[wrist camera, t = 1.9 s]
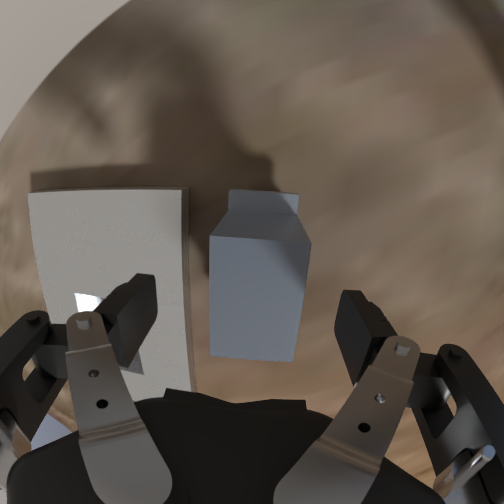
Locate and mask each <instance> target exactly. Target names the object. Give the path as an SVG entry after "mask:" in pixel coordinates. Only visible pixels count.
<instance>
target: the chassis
mask: <svg viewBox="0 0 504 504" xmlns="http://www.w3.org/2000/svg"><path fill="white" fill-rule="evenodd" d="M28 203H29V215H30V224H31V232H32V239H33V246H34V252H35V258H36V263H37V269H38V273H39V278H40V283H41V287H42V291H43V295H44V299H45V303H46V307H47V310H48V314H49V317H50V321H51V324H66V322H67V320H68V318H69V317H70V316H72V315H73V314H75V313H78V312H82V311H93V310H94V309H95V308H96V307H97V306H98V305H99V304H100V303H101V302H102V301H103V300H104V299H106V297H107V296H108V295H109V294H111V292H112V291H113V290H114V289H115V288H116V287H117V286H119V285H121V284H123V283H125V282H126V283H128V282H129V281H130V279H131V278H132V277H133V276H134V275H135V274H136V273H143V274H152V275H154V276H155V280H156V292H157V303H158V314H157V318H156V321H155V323H154V324H153V326H152V328H151V329H150V331H149V333H148V334H147V336H146V338H145V340H144V341H143V343H142V345H141V346H140V348H139V350H138V352H137V353H136V355H135V357H134V359H133V360H132V362H131V364H130V366H129V367H128V368H126V367H121V366H119V368H120V370H121V373H122V376H123V378H124V381H125V383H126V386H127V388H128V391H129V393H130V395H131V398H132V400H134V401H140V400H143V399H148V398H155V397H163V396H164V393H165V390H166V388H171V389H177V390H183V391H190V392H196V381H195V370H194V358H193V344H192V328H191V309H190V284H189V187H159V186H127V187H85V188H63V189H47V190H39V191H35V192H31V193H28Z"/></svg>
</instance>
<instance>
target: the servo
mask: <svg viewBox="0 0 504 504" xmlns="http://www.w3.org/2000/svg"><path fill="white" fill-rule="evenodd" d="M298 200H299V194H297V193H285V192H273V191H259V190H243V189H229V196H228V211H227V212H226V214H225V215H224V216H223V218H222V219H221V221H220V222H219V223H218V225H217V226H216V227H215V229H214V230H213V232H212V233H211V234H210V243H209V318H210V356H218V357H227V358H238V359H250V360H265V361H284V362H293V357H294V352H295V347H296V341H297V336H298V330H299V324H300V318H301V312H302V306H303V299H304V293H305V286H306V279H307V272H308V265H309V258H310V250H311V241H310V239H309V237H308V235H307V233H306V232H305V230H304V228H303V226H302V224H301V222H300V220H299V218H298V216H297V210H298Z"/></svg>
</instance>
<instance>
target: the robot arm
mask: <svg viewBox="0 0 504 504" xmlns="http://www.w3.org/2000/svg"><path fill="white" fill-rule="evenodd" d="M157 314H158V303H157V292H156V280H155V276H154V275H152V274H143V273H136V274H135V275H134V276H133V277H132V278H131V279H130V281H129V282H128V283H126V282H125V283H123V284H121V285H119V286H117V287H116V288H115V289H114V290H113V291H112V292H111V294H109V295H108V296H107V297H106V299H104V300H103V301H102V302H101V303H100V304H99V305H98V306H97V307H96V308H95V309H94V310H93V311H82V312H78V313H75V314H73V315H72V316H70V317H69V318H68V320H67V322H66V324H51V321H50V318H49V315H48V313H46V312H45V311H32V312H29V313H26V314H25V315H23V316H22V317H21V318H20V319H19V320H18V321H17V322H15V323H14V324H13V325H12V326H11V327H10V328H9V329H8V330H7V331H6V332H5V333H4V334H3V335H2V336H1V337H0V489H2V490H4V491H5V492H6V493H7V504H504V404H503V403H502V401H501V400H500V398H499V397H498V395H497V394H496V392H495V391H494V389H493V388H492V386H491V385H490V383H489V382H488V380H487V379H486V377H485V376H484V375H483V373H482V372H481V370H480V369H479V368H478V366H477V365H476V363H475V362H474V361H473V359H472V358H471V357H470V355H469V354H468V353H467V352H466V351H465V350H464V349H463V348H461V347H459V346H457V345H454V344H444V345H442V346H441V347H440V349H439V351H438V353H437V355H433V354H426V353H421V352H420V347H419V346H418V344H417V343H416V342H414V341H413V340H411V339H409V338H407V337H404V336H398V335H397V333H396V332H395V330H394V329H393V327H392V326H391V324H390V323H389V321H388V320H387V318H386V317H385V316H384V314H383V312H382V311H381V310H380V308H379V307H377V306H376V305H375V304H373V303H372V302H368V300H367V299H366V297H365V296H364V294H363V293H362V292H361V291H360V290H343V292H342V294H341V298H340V303H339V307H338V311H337V315H336V320H335V326H334V332H335V336H336V339H337V342H338V345H339V347H340V350H341V353H342V356H343V358H344V361H345V364H346V367H347V370H348V373H349V375H350V378H351V381H352V384H353V387H355V389H354V390H353V392H352V393H351V395H350V396H349V398H348V399H347V401H346V402H345V404H344V405H343V407H342V408H341V409H340V411H339V412H338V414H337V415H336V416H335V418H334V419H332V418H330V417H328V416H326V415H324V414H321V413H318V412H315V411H311V410H307V408H306V401H305V400H282V399H269V400H262V401H254V402H246V403H230V402H227V401H223V400H220V399H217V398H214V397H210V396H207V395H204V394H201V393H197V392H190V391H183V390H177V389H171V388H166V390H165V393H164V396H163V397H155V398H148V399H143V400H140V401H136V402H133V400H132V398H131V395H130V393H129V391H128V388H127V386H126V383H125V381H124V378H123V376H122V373H121V370H120V368H119V366H121V367H126V368H128V367H129V366H130V364H131V362H132V360H133V359H134V357H135V355H136V353H137V352H138V350H139V348H140V346H141V345H142V343H143V341H144V340H145V338H146V336H147V334H148V333H149V331H150V329H151V328H152V326H153V324H154V323H155V321H156V318H157ZM30 358H32V360H33V362H34V365H35V368H34V370H33V371H32V372H31V374H30V375H29V376H28V378H27V379H26V380H25V382H24V380H23V376H22V371H23V368H24V366H25V364H26V363H27V362H28V361H29V360H30ZM67 379H69V386H70V392H71V397H72V403H73V408H74V413H75V417H76V422H77V426H78V430H77V431H75V432H73V433H71V434H69V435H67V436H65V437H62V438H60V439H58V440H56V441H53V442H51V443H49V444H46V445H44V446H42V447H39V448H37V449H35V450H32V451H31V443H30V442H31V441H32V438H33V436H34V435H35V433H36V431H37V429H38V428H39V426H40V424H41V422H42V421H43V419H44V417H45V415H46V414H47V412H48V410H49V409H50V407H51V405H52V404H53V402H54V400H55V399H56V397H57V395H58V394H59V392H60V390H61V389H62V387H63V386H64V384H65V382H66V381H67ZM451 395H452V397H453V399H454V400H455V402H456V405H457V411H456V415H455V417H454V416H453V414H452V412H451V410H450V408H449V406H448V404H447V400H448V399H449V397H450V396H451ZM405 407H409V408H412V411H413V413H414V416H415V418H416V421H417V423H418V426H419V429H420V431H421V434H422V437H423V439H424V442H425V445H426V448H427V451H428V453H429V456H430V459H431V462H432V465H433V468H434V471H435V474H436V479H435V481H434V484H433V489H431V488H430V487H428V486H427V485H425V484H424V483H422V482H420V481H419V480H417V479H416V478H414V477H413V476H411V475H410V474H408V473H407V472H405V471H404V470H403V469H401V468H400V467H398V466H397V465H395V464H394V463H392V462H391V461H390V460H388V459H387V458H385V457H384V456H385V453H386V451H387V449H388V447H389V445H390V443H391V441H392V438H393V436H394V434H395V431H396V429H397V427H398V424H399V422H400V419H401V417H402V414H403V412H404V409H405Z"/></svg>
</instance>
